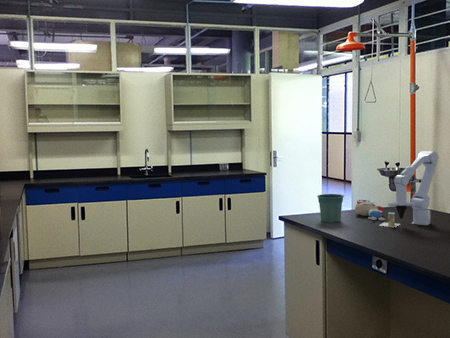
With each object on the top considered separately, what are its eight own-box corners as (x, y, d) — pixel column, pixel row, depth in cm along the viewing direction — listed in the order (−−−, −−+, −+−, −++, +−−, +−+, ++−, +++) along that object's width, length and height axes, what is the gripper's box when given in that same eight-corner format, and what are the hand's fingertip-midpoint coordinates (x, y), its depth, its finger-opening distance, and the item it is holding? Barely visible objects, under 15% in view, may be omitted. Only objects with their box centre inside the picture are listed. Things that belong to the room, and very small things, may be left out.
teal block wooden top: (394, 224, 302) (394, 212, 301) (394, 226, 296) (394, 214, 296) (388, 223, 303) (388, 212, 302) (388, 225, 297) (388, 214, 297)
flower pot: (333, 224, 307) (333, 198, 305) (312, 221, 319) (311, 196, 318) (349, 220, 318) (349, 195, 316) (327, 217, 330) (327, 193, 329)
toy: (361, 210, 312) (353, 197, 341) (359, 225, 314) (351, 211, 343) (391, 212, 311) (381, 199, 340) (389, 228, 313) (379, 213, 342)
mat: (400, 224, 302) (400, 223, 302) (395, 227, 294) (395, 226, 294) (383, 223, 308) (383, 222, 307) (378, 226, 299) (378, 225, 299)
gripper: (411, 194, 299) (411, 217, 300) (386, 194, 300) (386, 217, 301) (415, 196, 292) (415, 219, 293) (390, 196, 293) (389, 219, 294)
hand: (401, 218), depth 296 cm, fingers closed
